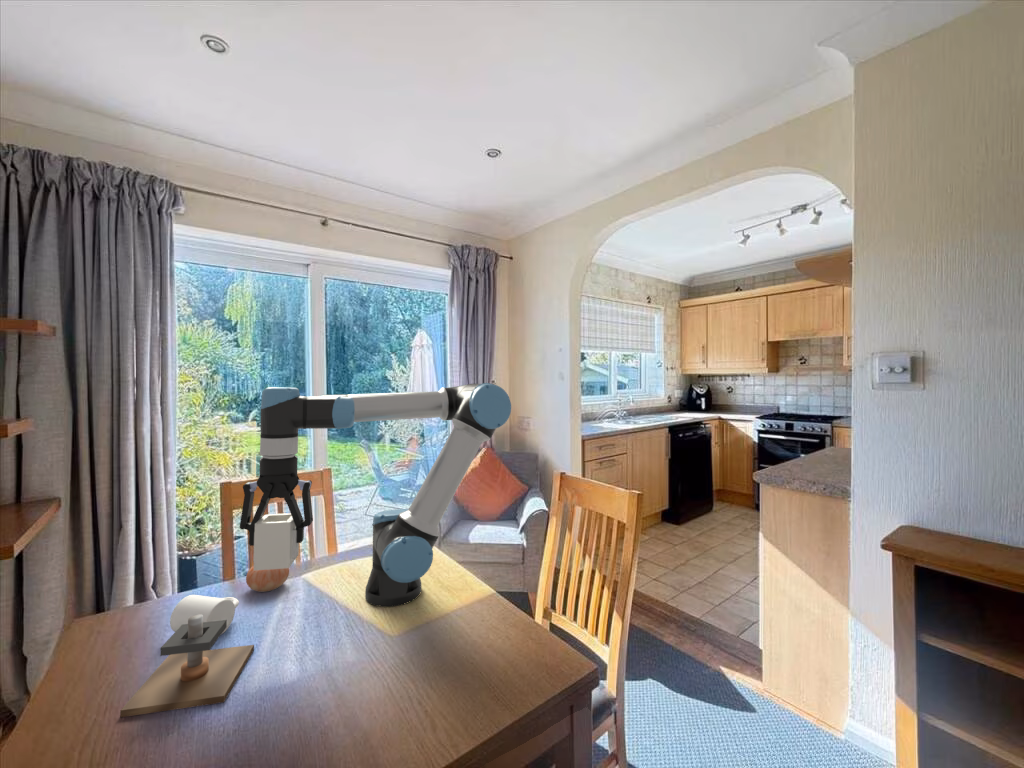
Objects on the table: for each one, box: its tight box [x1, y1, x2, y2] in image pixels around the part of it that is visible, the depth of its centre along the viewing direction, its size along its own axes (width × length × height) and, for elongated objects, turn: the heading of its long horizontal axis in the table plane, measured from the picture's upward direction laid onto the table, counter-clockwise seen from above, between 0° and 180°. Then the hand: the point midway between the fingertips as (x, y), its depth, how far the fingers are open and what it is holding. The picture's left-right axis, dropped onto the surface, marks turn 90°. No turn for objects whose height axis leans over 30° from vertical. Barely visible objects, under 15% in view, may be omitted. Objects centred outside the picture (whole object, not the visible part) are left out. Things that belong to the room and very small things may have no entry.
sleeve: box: [253, 512, 296, 571], centre depth 97 cm, size 7×7×10 cm
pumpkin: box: [245, 564, 290, 593], centre depth 123 cm, size 11×11×8 cm
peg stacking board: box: [119, 615, 255, 718], centre depth 85 cm, size 16×16×12 cm
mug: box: [169, 594, 240, 636], centre depth 103 cm, size 12×10×8 cm
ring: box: [159, 620, 227, 657], centre depth 85 cm, size 8×8×2 cm
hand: (276, 558), depth 97 cm, fingers closed on sleeve, 7 cm apart
